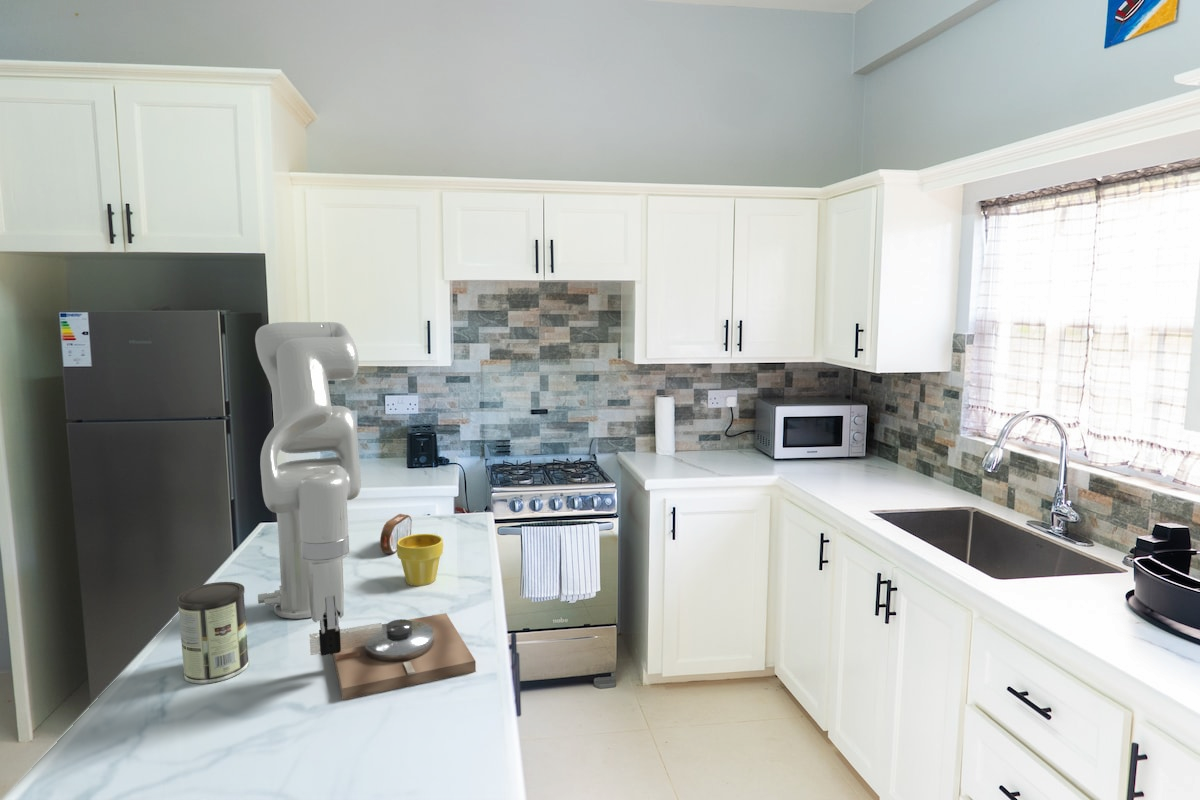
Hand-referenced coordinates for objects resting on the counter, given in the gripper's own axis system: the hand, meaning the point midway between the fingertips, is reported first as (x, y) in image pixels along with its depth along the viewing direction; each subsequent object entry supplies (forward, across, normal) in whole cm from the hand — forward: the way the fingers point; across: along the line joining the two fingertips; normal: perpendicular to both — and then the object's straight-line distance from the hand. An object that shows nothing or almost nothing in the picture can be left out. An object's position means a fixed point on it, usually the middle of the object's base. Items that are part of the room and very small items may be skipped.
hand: (330, 652), depth 124 cm
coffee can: (+5, -12, -18) cm, 22 cm away
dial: (+2, -3, +7) cm, 8 cm away
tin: (+4, -64, +22) cm, 68 cm away
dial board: (+5, -3, +12) cm, 13 cm away
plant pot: (+4, -38, +23) cm, 45 cm away
